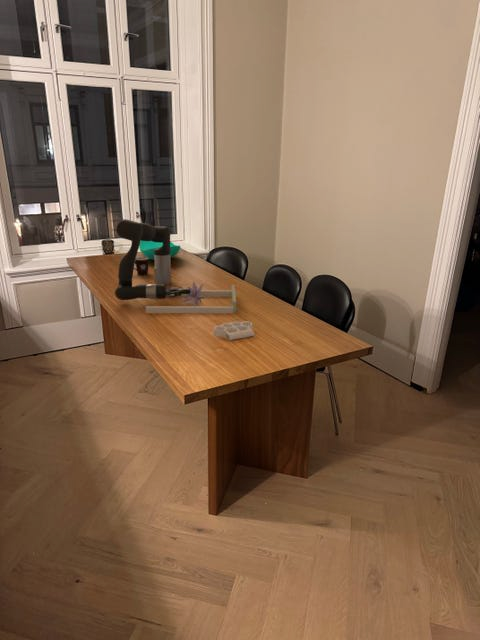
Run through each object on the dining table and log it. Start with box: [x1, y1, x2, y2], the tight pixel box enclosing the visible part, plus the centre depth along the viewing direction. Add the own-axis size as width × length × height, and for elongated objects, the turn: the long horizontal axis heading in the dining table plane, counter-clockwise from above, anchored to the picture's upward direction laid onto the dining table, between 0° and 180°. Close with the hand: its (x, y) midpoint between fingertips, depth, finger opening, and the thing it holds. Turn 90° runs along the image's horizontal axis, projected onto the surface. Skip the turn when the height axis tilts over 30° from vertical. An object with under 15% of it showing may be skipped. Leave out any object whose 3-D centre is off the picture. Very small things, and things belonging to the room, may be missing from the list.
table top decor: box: [139, 241, 182, 261], centre depth 311 cm, size 40×28×13 cm
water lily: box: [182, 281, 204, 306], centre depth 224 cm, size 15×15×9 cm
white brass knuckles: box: [213, 320, 256, 342], centre depth 187 cm, size 3×18×15 cm
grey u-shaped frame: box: [145, 284, 237, 314], centre depth 222 cm, size 44×28×6 cm, turn 93°
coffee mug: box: [134, 256, 150, 276], centre depth 275 cm, size 12×9×10 cm
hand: (190, 291), depth 220 cm, fingers closed
